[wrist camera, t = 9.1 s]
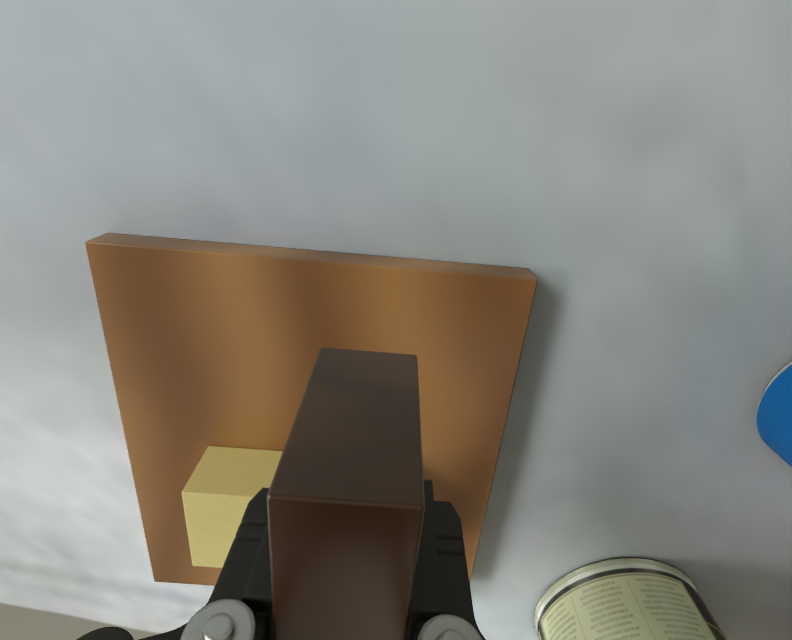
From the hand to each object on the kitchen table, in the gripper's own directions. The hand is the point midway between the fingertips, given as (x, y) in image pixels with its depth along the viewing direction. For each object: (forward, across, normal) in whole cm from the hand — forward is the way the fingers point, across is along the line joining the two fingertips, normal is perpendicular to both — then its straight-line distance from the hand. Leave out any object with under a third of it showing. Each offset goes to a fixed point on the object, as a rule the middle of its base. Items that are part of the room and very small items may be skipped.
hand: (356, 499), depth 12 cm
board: (+10, +3, +6) cm, 12 cm away
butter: (+8, +4, +8) cm, 12 cm away
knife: (+1, 0, +4) cm, 4 cm away
